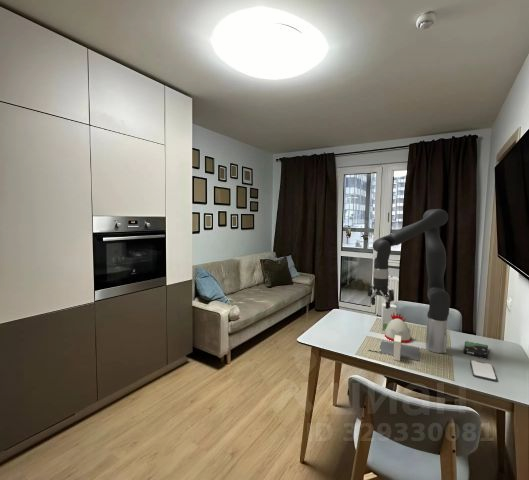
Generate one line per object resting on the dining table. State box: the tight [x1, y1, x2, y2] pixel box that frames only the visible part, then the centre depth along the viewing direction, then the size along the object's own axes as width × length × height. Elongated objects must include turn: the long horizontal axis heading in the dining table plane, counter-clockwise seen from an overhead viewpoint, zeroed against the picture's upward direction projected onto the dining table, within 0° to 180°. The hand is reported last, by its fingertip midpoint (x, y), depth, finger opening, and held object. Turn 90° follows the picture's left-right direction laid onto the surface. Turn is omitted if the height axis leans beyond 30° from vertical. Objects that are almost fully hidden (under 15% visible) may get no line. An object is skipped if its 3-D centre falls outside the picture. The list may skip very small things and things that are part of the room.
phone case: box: [469, 359, 498, 383], centre depth 134 cm, size 9×2×16 cm
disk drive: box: [463, 340, 489, 360], centre depth 155 cm, size 10×3×15 cm
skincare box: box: [380, 302, 398, 331], centre depth 185 cm, size 8×7×16 cm
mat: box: [379, 340, 420, 362], centre depth 156 cm, size 24×16×1 cm, turn 63°
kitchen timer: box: [384, 312, 412, 344], centre depth 171 cm, size 14×14×15 cm
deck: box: [392, 335, 402, 362], centre depth 146 cm, size 3×7×10 cm, turn 153°
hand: (380, 306), depth 156 cm, fingers open, 8 cm apart
